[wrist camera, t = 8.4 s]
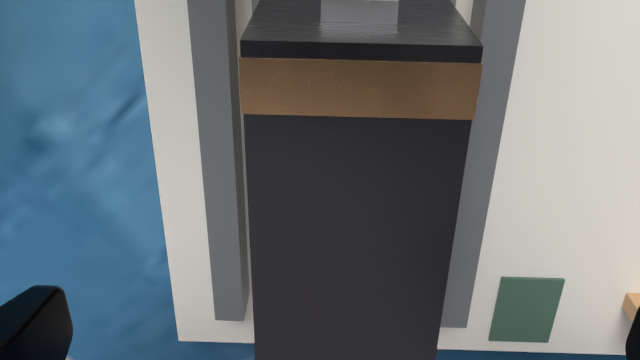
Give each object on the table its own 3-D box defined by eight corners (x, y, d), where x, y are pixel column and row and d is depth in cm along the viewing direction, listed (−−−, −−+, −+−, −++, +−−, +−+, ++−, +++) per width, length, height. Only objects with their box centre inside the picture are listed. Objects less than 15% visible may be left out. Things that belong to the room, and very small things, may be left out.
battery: (414, 266, 17) (433, 377, 13) (271, 262, 17) (254, 371, 14) (448, -26, 13) (490, 21, 10) (263, -30, 13) (236, 15, 10)
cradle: (713, 305, 21) (801, 412, 17) (195, 289, 21) (162, 391, 17) (916, -161, 14) (1146, -165, 10) (145, -176, 14) (71, -186, 10)
